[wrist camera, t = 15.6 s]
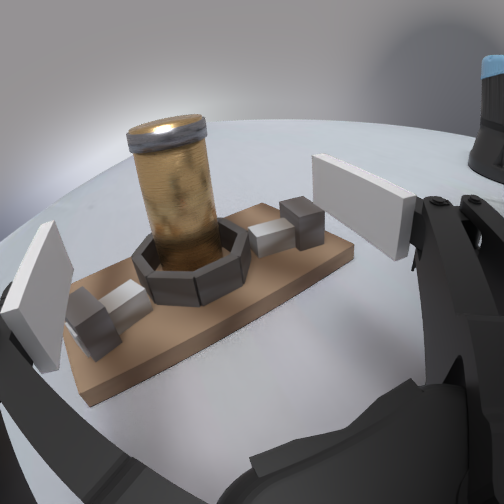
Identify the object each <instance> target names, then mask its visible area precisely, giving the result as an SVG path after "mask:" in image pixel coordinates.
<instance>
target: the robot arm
mask: <svg viewBox="0 0 504 504" xmlns="http://www.w3.org/2000/svg"><path fill="white" fill-rule="evenodd" d="M481 80H482V100H481V122H480V129H479V132H478V135H477V137H476V140H475V143H474V146H473V149H472V150H471V151H470V154H469V162H468V165H469V166H470V167H471V168H472V169H473V170H474V171H476V172H478V173H479V174H481V175H483V176H485V177H488V178H490V179H493V180H495V181H498V182H501V183H504V55H489V56H486V57H485V58H484V59H483V60H482V75H481ZM312 174H313V203H314V204H315V205H317V206H318V207H320V208H321V209H322V210H324V211H325V212H327V213H328V214H330V215H331V216H333V217H334V218H335V219H337V220H338V221H340V222H341V223H343V224H344V225H345V226H347V227H348V228H350V229H351V230H353V231H354V232H355V233H357V234H358V235H359V236H361V237H362V238H364V239H365V240H366V241H368V242H369V243H370V244H372V245H373V246H375V247H376V248H377V249H379V250H380V251H381V252H383V253H384V254H385V255H387V256H388V257H389V258H391V259H392V260H393V261H398V260H400V259H403V258H405V257H407V256H408V251H409V245H410V243H411V244H412V245H414V246H415V247H416V250H415V255H414V260H413V265H412V270H411V271H414V268H416V269H417V276H418V283H419V291H420V300H421V309H422V319H423V331H424V345H425V365H426V384H425V385H424V386H419V387H418V386H417V385H416V383H415V382H414V381H413V380H412V379H411V378H410V379H408V380H407V381H405V382H404V383H402V384H400V385H399V386H397V387H396V388H394V389H392V390H391V391H389V392H387V393H386V394H384V395H382V396H381V397H379V398H378V399H377V400H376V401H375V402H374V403H373V404H372V405H370V406H369V407H368V408H367V409H366V410H365V411H364V412H363V413H362V414H361V415H360V416H359V417H358V418H357V419H356V420H355V421H353V422H352V423H351V424H350V425H349V426H348V427H346V428H344V429H341V430H337V431H333V432H329V433H325V434H320V435H316V436H311V437H306V438H301V439H295V440H293V441H290V442H288V443H286V444H283V445H281V446H278V447H276V448H273V449H271V450H268V451H265V452H263V453H260V454H257V455H255V456H252V457H249V459H250V462H251V465H252V468H251V469H250V470H248V471H247V472H245V473H244V474H242V475H241V476H240V477H239V478H237V479H236V480H235V481H234V482H233V483H232V484H231V485H230V486H229V487H228V488H227V489H226V490H225V492H224V493H223V494H222V496H221V497H220V498H219V500H218V502H217V504H504V218H503V217H502V216H501V215H500V214H499V213H498V212H497V211H496V210H495V209H494V208H493V207H492V206H490V205H489V204H488V203H487V202H486V201H485V200H483V199H481V198H480V197H478V196H476V195H463V196H462V198H461V203H460V206H453V205H452V204H451V202H449V201H448V200H446V199H443V198H442V197H438V196H429V197H425V198H424V199H421V198H419V197H417V195H416V194H414V193H412V192H410V191H408V190H406V189H404V188H402V187H399V186H397V185H395V184H393V183H391V182H389V181H387V180H385V179H383V178H380V177H378V176H376V175H374V174H372V173H369V172H367V171H365V170H363V169H360V168H358V167H356V166H353V165H351V164H349V163H346V162H344V161H342V160H339V159H337V158H334V157H332V156H329V155H327V154H324V153H323V154H317V155H312ZM481 235H482V243H481V246H480V247H479V246H478V244H479V240H480V236H481ZM73 271H74V268H73V266H72V264H71V261H70V259H69V256H68V254H67V252H66V249H65V247H64V244H63V241H62V239H61V236H60V234H59V231H58V228H57V226H56V223H55V220H53V221H50V222H47V223H44V224H41V225H40V227H39V229H38V231H37V233H36V235H35V237H34V238H33V240H32V242H31V244H30V246H29V248H28V250H27V252H26V254H25V256H24V259H23V261H22V263H21V265H20V267H19V269H18V271H17V274H16V276H15V278H14V280H13V282H10V284H9V285H8V286H7V287H6V289H5V290H4V291H3V294H2V296H1V298H0V299H1V300H0V403H1V402H2V404H3V405H4V407H5V408H6V410H7V411H8V413H9V414H10V416H11V417H12V419H13V420H14V422H15V423H16V425H17V426H18V427H19V429H20V430H21V431H22V433H23V434H24V436H25V437H26V438H27V440H28V441H29V442H30V443H31V445H32V446H33V447H34V449H35V450H36V451H37V452H38V454H39V455H40V456H41V457H42V458H43V460H44V461H45V462H46V463H47V464H48V465H49V467H50V468H51V469H52V470H53V471H54V472H55V473H56V475H57V476H58V477H59V478H60V479H61V480H62V481H63V482H64V483H65V484H66V485H67V486H68V487H69V488H70V490H71V491H72V492H73V493H74V494H75V495H76V496H77V497H78V498H79V499H80V500H81V501H82V502H83V503H84V504H208V503H206V502H204V501H202V500H201V499H199V498H197V497H195V496H194V495H192V494H190V493H188V492H187V491H185V490H183V489H182V488H180V487H178V486H177V485H175V484H173V483H172V482H170V481H169V480H167V479H165V478H164V477H162V476H161V475H159V474H158V473H156V472H155V471H153V470H152V469H150V468H149V467H147V466H146V465H144V464H143V463H141V462H140V461H139V460H137V459H135V458H134V457H130V456H129V455H127V454H126V453H124V452H123V451H122V450H121V449H119V448H118V447H117V446H115V445H114V444H113V443H112V442H110V441H109V440H108V439H107V438H105V437H104V436H103V435H102V434H101V433H99V432H98V431H97V430H96V429H95V428H94V427H92V426H91V425H90V424H89V423H88V422H87V421H86V420H84V419H83V418H82V417H81V416H80V415H79V414H78V413H77V412H76V411H75V410H74V409H72V408H71V407H70V406H69V405H68V404H67V403H66V402H65V401H64V400H63V399H62V398H61V397H60V396H59V395H58V394H57V393H56V392H55V391H54V390H53V389H52V388H51V387H50V386H49V385H48V384H47V383H46V382H45V380H44V379H43V378H42V377H41V376H40V375H39V374H38V373H37V372H36V371H35V370H34V368H33V363H34V365H35V366H36V367H37V368H38V370H39V371H40V372H41V374H44V373H48V372H53V371H57V370H59V366H60V355H61V346H62V338H63V330H64V323H65V316H66V309H67V303H68V297H69V292H70V286H71V281H72V276H73ZM0 504H37V502H36V500H35V498H34V496H33V494H32V492H31V490H30V487H29V485H28V483H27V481H26V479H25V477H24V474H23V472H22V470H21V467H20V465H19V462H18V460H17V457H16V455H15V452H14V450H13V447H12V444H11V441H10V439H9V436H8V433H7V430H6V427H5V424H4V421H3V417H2V414H1V411H0Z"/></svg>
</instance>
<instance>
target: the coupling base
mask: <svg viewBox="0 0 504 504" xmlns="http://www.w3.org/2000/svg"><path fill="white" fill-rule="evenodd" d="M279 206H280V210H278V209H276V208H274V207H271V206H269V205H267V204H264V203H260V204H257V205H255V206H252V207H250V208H247V209H245V210H242V211H240V212H237V213H235V214H232V215H230V216H227V217H225V218H217V222H218V228H219V234H220V240H221V246H222V252H223V258H221V259H219V260H217V261H215V262H212V263H210V264H208V265H206V266H204V267H202V268H200V269H197V270H195V271H193V272H192V271H163V270H162V267H161V263H160V260H159V256H158V253H157V249H156V246H155V242H154V238H153V235H152V233H150V234H148V236H147V237H146V238H145V239H144V241H143V242H142V243H141V244H140V246H139V247H138V248H137V249H136V251H135V252H134V253H133V254H132V257H129V258H127V259H125V260H123V261H120V262H118V263H116V264H114V265H111V266H109V267H107V268H105V269H103V270H100V271H98V272H96V273H94V274H92V275H89V276H87V277H85V278H83V279H81V280H78V281H76V282H74V283H72V284H71V286H70V292H69V297H68V303H67V309H66V316H65V323H64V330H63V337H64V342H65V346H66V350H67V354H68V358H69V362H70V365H71V369H72V372H73V376H74V379H75V383H76V386H77V389H78V392H79V395H80V396H81V397H82V398H83V399H84V401H85V402H86V403H87V404H88V405H89V407H91V406H93V405H95V404H97V403H100V402H102V401H104V400H106V399H108V398H110V397H112V396H114V395H116V394H118V393H120V392H122V391H124V390H126V389H128V388H130V387H132V386H134V385H136V384H138V383H140V382H142V381H144V380H146V379H148V378H150V377H152V376H154V375H156V374H158V373H160V372H161V371H163V370H165V369H167V368H169V367H171V366H173V365H175V364H177V363H178V362H180V361H182V360H184V359H186V358H188V357H190V356H191V355H193V354H195V353H197V352H199V351H201V350H202V349H204V348H206V347H208V346H210V345H211V344H213V343H215V342H217V341H219V340H220V339H222V338H224V337H226V336H227V335H229V334H231V333H233V332H235V331H236V330H238V329H240V328H241V327H243V326H245V325H247V324H248V323H250V322H252V321H254V320H255V319H257V318H259V317H260V316H262V315H264V314H265V313H267V312H269V311H270V310H272V309H274V308H275V307H277V306H279V305H280V304H282V303H284V302H285V301H287V300H289V299H290V298H292V297H294V296H295V295H297V294H299V293H300V292H302V291H303V290H305V289H307V288H308V287H310V286H311V285H313V284H315V283H316V282H318V281H319V280H321V279H323V278H324V277H326V276H327V275H329V274H330V273H332V272H334V271H335V270H337V269H338V268H340V267H341V266H343V265H344V264H346V263H348V262H349V261H351V260H352V259H353V256H354V244H353V243H351V242H349V241H346V240H344V239H342V238H340V237H338V236H336V235H334V234H331V233H329V232H327V231H325V211H324V210H322V209H321V208H320V207H318V206H317V205H315V204H314V203H313V202H311V201H310V200H308V199H307V198H305V197H304V196H301V197H297V198H293V199H288V200H284V201H280V202H279Z"/></svg>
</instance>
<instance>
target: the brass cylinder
mask: <svg viewBox="0 0 504 504" xmlns="http://www.w3.org/2000/svg"><path fill="white" fill-rule="evenodd" d="M126 136H127V141H128V146H129V151H130V152H131V153H133V156H134V160H135V165H136V170H137V174H138V178H139V183H140V187H141V191H142V195H143V200H144V204H145V208H146V212H147V216H148V219H149V223H150V227H151V231H152V235H153V238H154V242H155V246H156V249H157V253H158V256H159V260H160V263H161V267H162V270H163V271H192V272H193V271H195V270H197V269H200V268H202V267H204V266H206V265H208V264H210V263H212V262H215V261H217V260H219V259H221V258H223V252H222V246H221V240H220V234H219V228H218V222H217V215H216V209H215V203H214V196H213V190H212V183H211V177H210V170H209V163H208V157H207V150H206V143H205V137H206V136H207V128H206V121H205V118H204V117H202V116H201V115H198V114H193V115H183V116H175V117H170V118H164V119H160V120H156V121H152V122H148V123H145V124H141V125H139V126H136V127H134V128H131V129H130V130H129V132H128V133H127V134H126Z"/></svg>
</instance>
